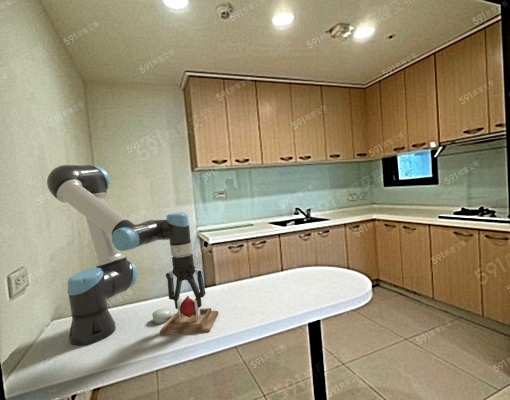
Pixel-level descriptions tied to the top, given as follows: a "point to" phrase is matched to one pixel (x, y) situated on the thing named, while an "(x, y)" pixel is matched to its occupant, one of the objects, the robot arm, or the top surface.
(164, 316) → the pale green dome
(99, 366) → the top surface
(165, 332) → the tray
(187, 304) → the onion
